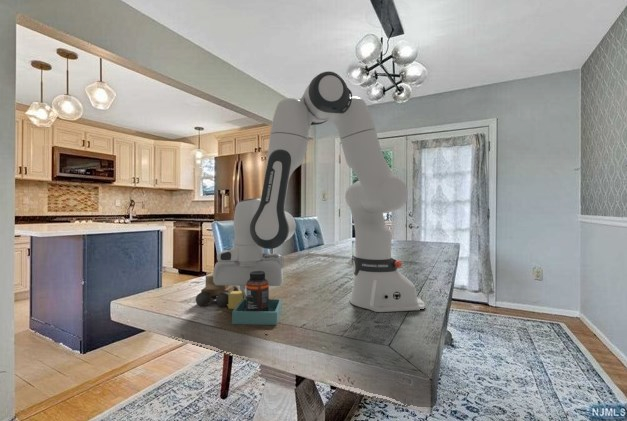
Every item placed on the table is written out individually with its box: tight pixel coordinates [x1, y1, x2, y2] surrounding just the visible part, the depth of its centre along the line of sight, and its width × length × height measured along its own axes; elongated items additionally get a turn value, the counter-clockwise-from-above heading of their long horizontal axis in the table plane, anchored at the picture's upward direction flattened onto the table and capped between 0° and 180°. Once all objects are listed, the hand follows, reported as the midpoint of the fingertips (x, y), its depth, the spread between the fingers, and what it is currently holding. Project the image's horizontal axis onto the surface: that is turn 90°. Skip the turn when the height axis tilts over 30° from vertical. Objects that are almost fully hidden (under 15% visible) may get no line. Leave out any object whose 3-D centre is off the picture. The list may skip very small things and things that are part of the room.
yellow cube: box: [227, 290, 244, 310], centre depth 90 cm, size 4×4×4 cm
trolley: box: [195, 271, 240, 308], centre depth 94 cm, size 10×10×8 cm
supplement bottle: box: [245, 271, 270, 311], centre depth 81 cm, size 6×6×11 cm
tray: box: [231, 298, 283, 326], centre depth 81 cm, size 11×11×3 cm
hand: (248, 300), depth 90 cm, fingers closed
